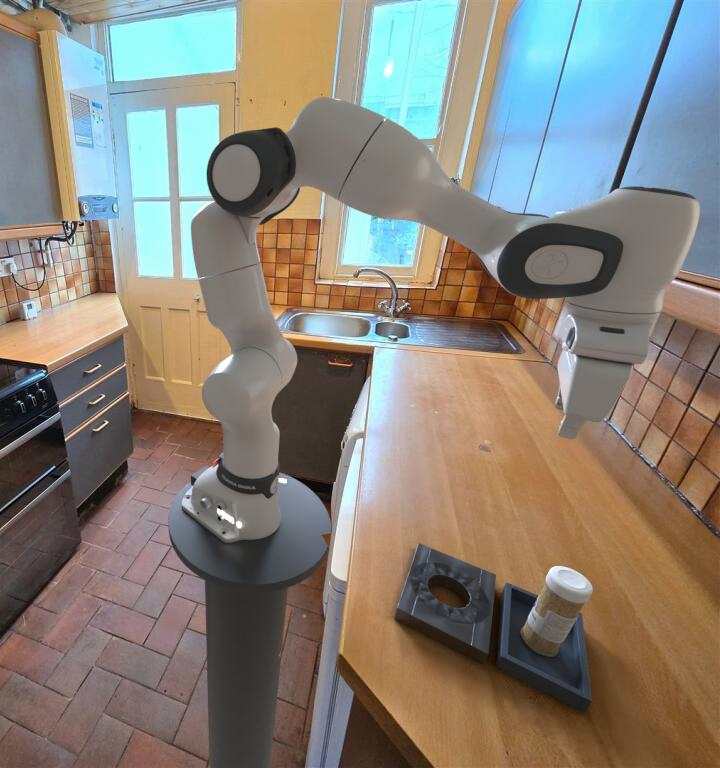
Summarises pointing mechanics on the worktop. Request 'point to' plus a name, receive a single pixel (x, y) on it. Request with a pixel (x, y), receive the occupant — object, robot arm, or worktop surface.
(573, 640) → the basin tray
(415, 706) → the worktop surface
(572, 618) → the sprinkles bottle
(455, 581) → the drain plate
